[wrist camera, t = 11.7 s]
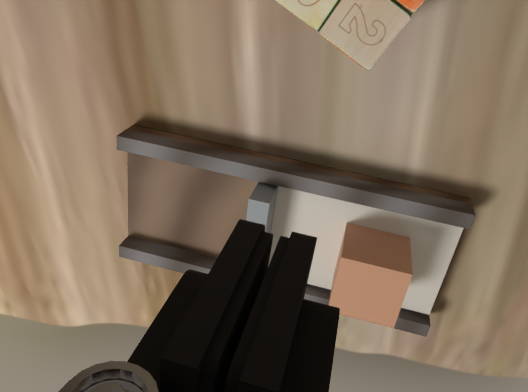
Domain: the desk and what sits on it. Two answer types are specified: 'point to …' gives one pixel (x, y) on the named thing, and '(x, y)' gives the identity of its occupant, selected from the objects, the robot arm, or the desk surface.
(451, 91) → the desk surface
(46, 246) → the desk surface
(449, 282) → the desk surface
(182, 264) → the rail board
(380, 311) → the terracotta block
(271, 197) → the white sliding panel
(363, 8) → the stack of blocks
